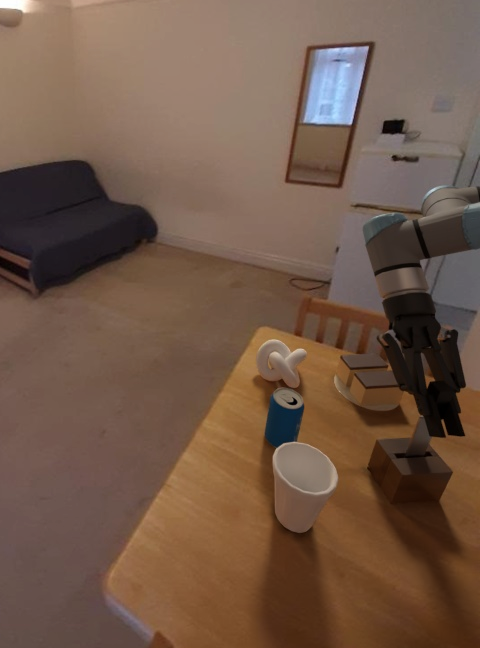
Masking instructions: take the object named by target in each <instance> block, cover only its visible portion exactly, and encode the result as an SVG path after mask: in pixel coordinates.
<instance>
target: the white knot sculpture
mask: <svg viewBox="0 0 480 648" xmlns="http://www.w3.org/2000/svg"><path fill="white" fill-rule="evenodd" d="M307 356H308V353H307V351H306V350H305V349H304V348H297V349H295V350H294V351H291V349H290V348H289V347H288V345H287V344H285V343H284V342H283V341H281V340H280V339H269V340H266V341H265V342H264V343H262V344H261V346H259V349H258V350H257V353H256V357H255V367H256V369H257V373H258V374H259V375H260V376H261V378H263V379H264V380H266V381H268V382H279V381H280V380H282V381H283V382H284V383H285V384H286V386H287V387H288V388H290V389H297V388H298V387H300V383H301V379H300V376H299V371H298V369H297V366H299V365H300V364H301V363H302V362H304V361H305V360H306V359H307ZM270 367H271V368H270Z"/></svg>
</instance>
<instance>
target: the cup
mask: <svg viewBox="0 0 480 648" xmlns="http://www.w3.org/2000/svg"><path fill="white" fill-rule="evenodd" d="M275 448H276V447H275ZM272 472H273V476H274V479H273V480H274V514H275V516H276V518H277V521H278V522H279V523H280V524H281V525H282V526H283V527H284V528H285V529H287V530H289V531H290V532H293V533H298V534H301V533H305V532H307V531H309V530H310V529H311V528H312V526H313V525H314V524H315V522H316V520H317V519H318V517H319V515H320V514H321V513H322V510H323V509H324V508H325V506H326V504H327V502H328V501H329V500H330V498H331V497H332V496H333V495H334V493H335V491H336V489H337V487H338V483H339V475H338V471H337V467H335V465H334V463H333V462H332V460H331V459H330V457H329V456H328V455H326V454H324V452H322V451H321V450H320V449H319V448H317V447H314V446H312V445H311V444H308V443H306V442H300V441H299V442H298V441H297V442H289V443H284V444H282V445H281V446H279V447H278V448H276V449H275V450H274V453H273V455H272Z"/></svg>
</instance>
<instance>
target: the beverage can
mask: <svg viewBox="0 0 480 648" xmlns="http://www.w3.org/2000/svg"><path fill="white" fill-rule="evenodd" d="M304 412H305V403H304V398H303V396H302V395H301V394H300V393H299V392H298V391H296V390H294V389H293V388H290V387H278V388H277V389H275V390H274V391H273V393H272V394H271V395H270V399H269V404H268V410H267V417H266V422H265V428H264V437H265V440H266V442H268V444H270V445H271V446H272V447H274V448H278V447H279V446H281V445H282V444H284V443H289V442H298V438H299V434H300V430H301V424H302V420H303V416H304Z"/></svg>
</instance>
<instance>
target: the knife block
mask: <svg viewBox="0 0 480 648" xmlns="http://www.w3.org/2000/svg"><path fill="white" fill-rule="evenodd" d="M411 437H412V436H410V437H394V438H378V439H376V440H375V443H374V446H373V449H372V452H371V455H370V458H369V460H368V464H367V466H366V468H367V470H368V471H369V474H371V476H372V477H373V479H374V480H375V482H376V484H377V485H378V487H379V488H380V490H381V492H382V493H383V494H384V496H385V497H386V499H387V501H388V502H389V504H390V505H401V504H414V503H416V504H417V503H418V504H419V503H429V502H430V503H432V502H440V501H441V498H442V496H443V494H444V493H445V489H446V488H447V486H448V484H449V482H450V480H451V478H452V476H453V473H454V471H453V470H452V468H451V467H449V465H448V464H447V463H446V462H445V460H444V459H443V458H442V457H441V456H440V455H439V453H438V452H437V451H436V450H435V449H434V448H433V447H432V445H431V444H430V443H429V445H428V448H427V450H426V452H425V455H424V457H416V458H405V457H404V455H405V452H406V450H407V447H408V445H409V442H410V439H411Z"/></svg>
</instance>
